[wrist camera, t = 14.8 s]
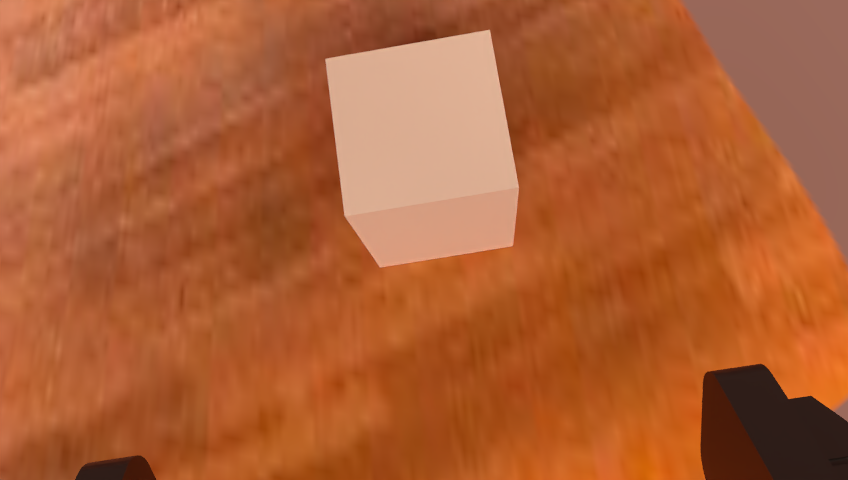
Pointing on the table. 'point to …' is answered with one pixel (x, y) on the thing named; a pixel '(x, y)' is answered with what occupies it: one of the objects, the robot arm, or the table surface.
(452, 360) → the table surface
